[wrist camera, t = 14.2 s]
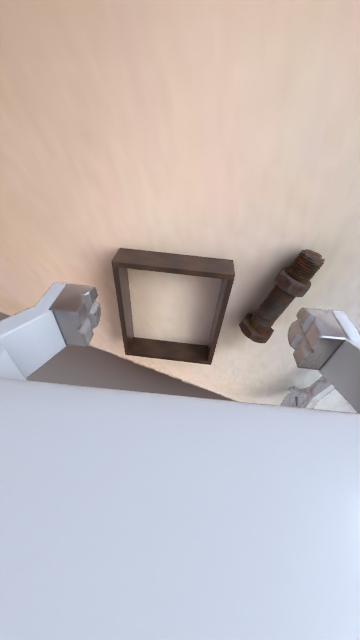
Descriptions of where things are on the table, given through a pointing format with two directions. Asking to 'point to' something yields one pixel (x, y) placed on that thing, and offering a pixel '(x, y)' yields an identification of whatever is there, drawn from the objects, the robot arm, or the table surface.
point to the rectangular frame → (177, 266)
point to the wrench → (308, 394)
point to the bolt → (282, 296)
